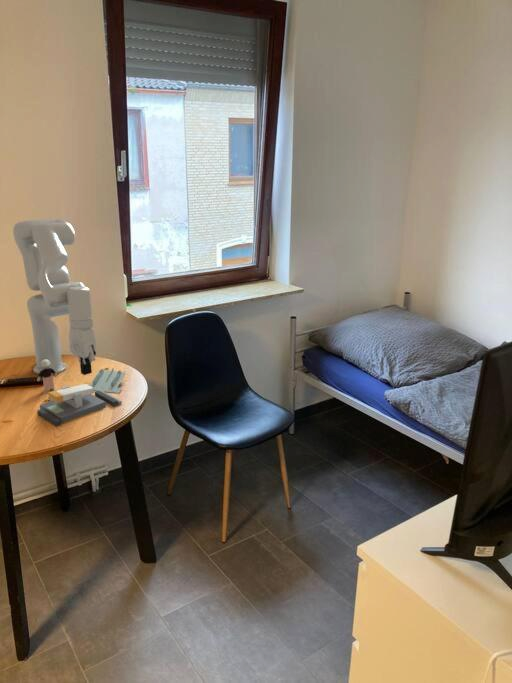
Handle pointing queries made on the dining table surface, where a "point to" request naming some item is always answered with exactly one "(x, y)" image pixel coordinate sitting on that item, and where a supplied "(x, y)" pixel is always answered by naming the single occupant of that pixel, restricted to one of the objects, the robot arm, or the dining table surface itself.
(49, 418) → the pair of grey rails
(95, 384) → the metal bracket
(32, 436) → the dining table surface
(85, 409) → the panel
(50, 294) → the robot arm
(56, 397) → the rocker lever
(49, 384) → the grandmother figurine
